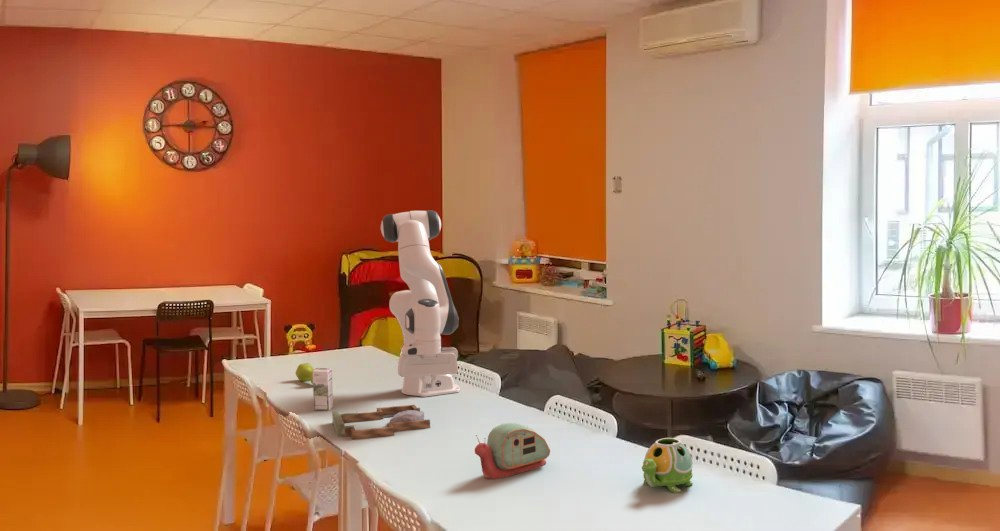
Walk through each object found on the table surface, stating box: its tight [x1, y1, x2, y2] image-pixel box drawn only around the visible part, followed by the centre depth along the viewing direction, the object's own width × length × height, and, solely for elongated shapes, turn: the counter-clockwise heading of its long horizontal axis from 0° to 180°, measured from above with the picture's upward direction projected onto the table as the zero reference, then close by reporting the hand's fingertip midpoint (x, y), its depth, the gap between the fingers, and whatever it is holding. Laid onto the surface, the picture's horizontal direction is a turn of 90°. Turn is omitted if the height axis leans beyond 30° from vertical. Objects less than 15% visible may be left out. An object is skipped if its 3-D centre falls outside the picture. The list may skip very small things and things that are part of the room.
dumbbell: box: [295, 362, 315, 385], centre depth 365 cm, size 16×8×7 cm, turn 38°
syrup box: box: [312, 367, 334, 411], centre depth 324 cm, size 6×6×14 cm
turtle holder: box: [641, 437, 694, 494], centre depth 237 cm, size 12×18×12 cm
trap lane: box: [331, 404, 431, 440], centre depth 301 cm, size 30×27×4 cm
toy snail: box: [474, 422, 551, 480], centre depth 252 cm, size 25×8×14 cm, turn 129°
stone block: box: [389, 410, 425, 423], centre depth 303 cm, size 12×5×10 cm
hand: (427, 388), depth 305 cm, fingers closed
